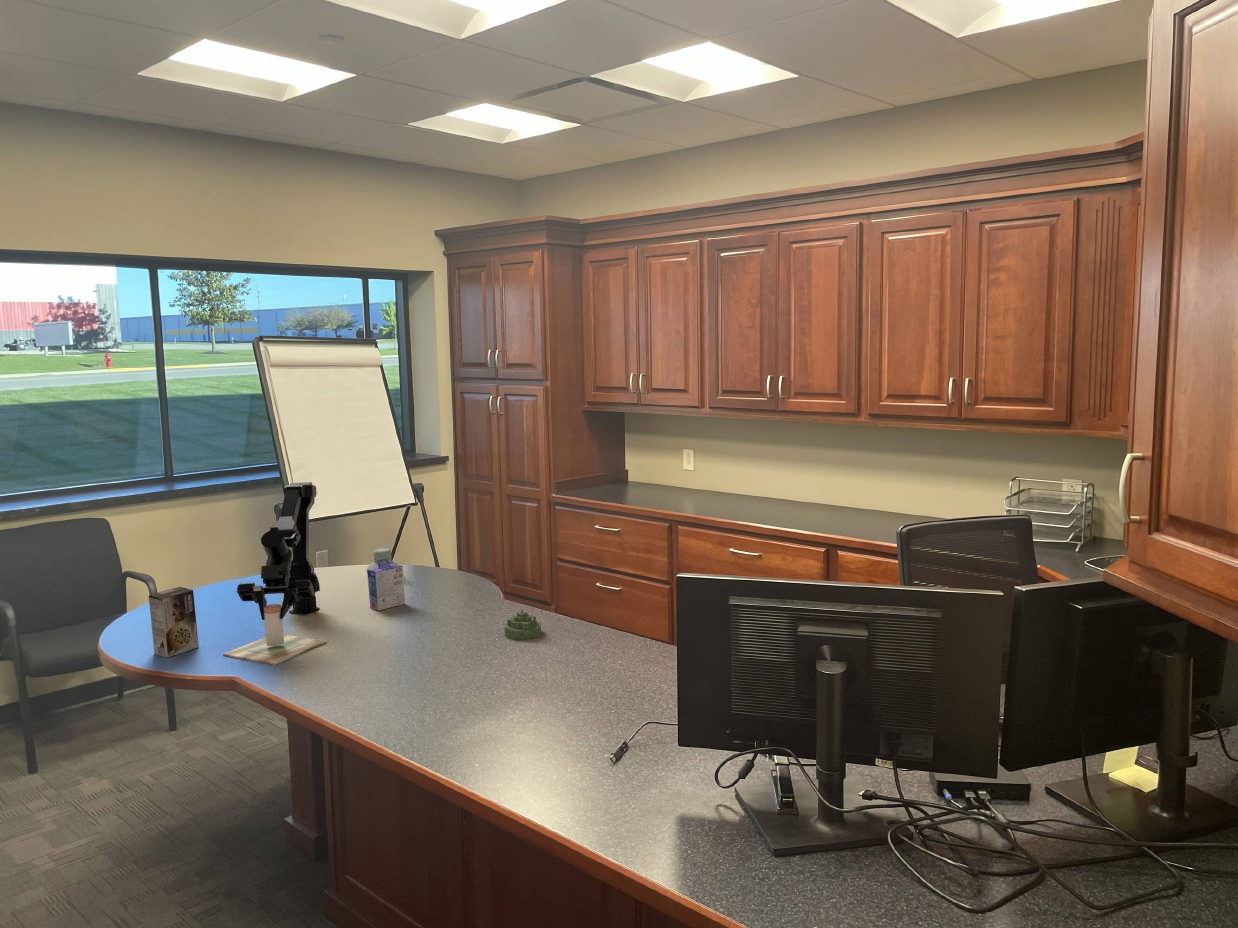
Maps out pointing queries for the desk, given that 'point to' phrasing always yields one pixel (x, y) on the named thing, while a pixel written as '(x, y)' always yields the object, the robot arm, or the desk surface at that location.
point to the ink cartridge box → (386, 585)
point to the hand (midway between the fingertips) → (271, 618)
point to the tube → (273, 625)
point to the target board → (274, 649)
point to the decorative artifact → (522, 627)
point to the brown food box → (173, 621)
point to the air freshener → (381, 557)
